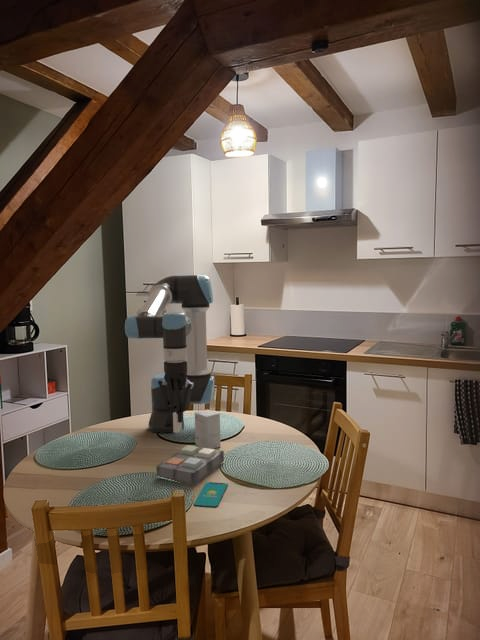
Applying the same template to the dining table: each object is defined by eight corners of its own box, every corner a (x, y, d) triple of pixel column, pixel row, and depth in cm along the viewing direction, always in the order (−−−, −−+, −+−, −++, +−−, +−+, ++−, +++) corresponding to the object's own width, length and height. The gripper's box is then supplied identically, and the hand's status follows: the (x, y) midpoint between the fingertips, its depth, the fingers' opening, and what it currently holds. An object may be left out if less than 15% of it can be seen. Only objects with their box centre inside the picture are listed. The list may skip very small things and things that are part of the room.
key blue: (183, 471, 155) (183, 462, 154) (190, 466, 159) (190, 457, 158) (195, 473, 153) (194, 464, 152) (202, 468, 157) (201, 459, 156)
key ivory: (197, 460, 163) (197, 452, 163) (204, 456, 167) (204, 447, 167) (209, 462, 161) (209, 454, 161) (215, 458, 165) (215, 449, 165)
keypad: (156, 478, 155) (156, 466, 155) (189, 456, 173) (189, 445, 173) (194, 486, 150) (194, 473, 149) (223, 462, 167) (223, 450, 167)
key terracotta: (166, 471, 158) (166, 462, 157) (173, 466, 162) (173, 457, 161) (177, 473, 156) (177, 464, 155) (184, 468, 160) (184, 459, 159)
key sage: (181, 457, 166) (181, 449, 165) (188, 453, 170) (187, 445, 169) (192, 459, 164) (192, 451, 164) (198, 455, 168) (198, 446, 167)
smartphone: (192, 504, 137) (205, 481, 152) (192, 507, 137) (205, 483, 152) (217, 506, 136) (228, 483, 150) (217, 509, 136) (228, 485, 150)
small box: (221, 446, 183) (220, 413, 181) (207, 451, 179) (206, 416, 177) (208, 441, 189) (207, 408, 188) (195, 445, 185) (194, 412, 184)
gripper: (151, 361, 155) (154, 432, 157) (186, 364, 149) (188, 437, 152) (165, 357, 162) (167, 425, 164) (198, 359, 156) (200, 430, 158)
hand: (177, 431), depth 158 cm, fingers closed
